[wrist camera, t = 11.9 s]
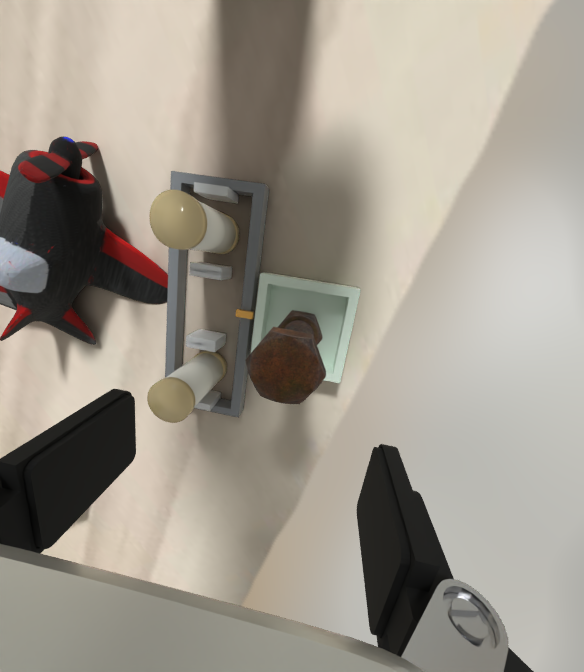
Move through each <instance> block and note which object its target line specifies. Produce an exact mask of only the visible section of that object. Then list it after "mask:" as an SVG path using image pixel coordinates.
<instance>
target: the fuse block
mask: <svg viewBox="0 0 584 672" xmlns="http://www.w3.org/2000/svg"><path fill="white" fill-rule="evenodd" d="M190 188H194V192H195V193H197V194H199V195H201V196H203V197H205V198H207V199H210V200H217V201H223V202H230V203H237V204H238V199H239V195H245V196H252V197H253V199H252V208H251V218H250V227H249V237H248V247H247V256H246V266H245V276H244V285H243V295H242V305H241V309H237V310H236V317H240V324H239V334H238V343H237V353H236V363H235V372H234V382H233V391H232V401H230V400H225V399H221V398H220V397H221V392H217V391H212V390H210V391H209V392H208V393H207V394H206V395H205V396H204V397H203V399H202V400H201V401H200V402H199V403H198V404H197V405H196V406H195V407H194V408H196V409H201V410H206V411H211V412H215V413H220V414H225V415H229V416H234V417H239V416H240V414H241V413H242V411H243V408H244V399H245V391H246V382H247V374H248V369H247V365H246V361H245V360H246V359H247V357H248V356H249V355H250V348H251V340H252V331H253V323H254V314H255V306H256V297H257V289H258V280H259V272H260V264H261V255H262V247H263V238H264V230H265V221H266V213H267V204H268V196H269V188H268V187H267V185H266V184H262V183H255V182H248V181H240V180H233V179H226V178H219V177H211V176H204V175H197V174H190V173H183V172H175V171H171V190H180V191H183V192H185V193H187V194H189V195H190ZM186 269H187V250H180V249H173V248H170V247H169V263H168V298H167V333H166V369H165V378H166V377H167V376H169V375H170V374H171V373H173V372H174V371H176V370H177V369H178V368H180V367H181V366H182V356H183V334H184V313H185V291H186ZM190 275H192V276H198V277H204V278H210V279H215V280H226V279H231V276H232V267H229V266H223V265H217V264H211V263H205V262H190ZM225 342H226V334H225V333H219V332H214V331H209V330H203V329H199V330H197V331H195V332H193V333H191V334H189V335H187V336H186V347H190V348H195V349H200V350H205V351H211V352H216V351H217V350H218V349H220V348H221V347H222V346H223V345H225Z"/></svg>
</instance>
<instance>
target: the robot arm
mask: <svg viewBox="0 0 584 672" xmlns="http://www.w3.org/2000/svg"><path fill="white" fill-rule="evenodd" d="M135 454H136V437H135V400H134V397H133V396H132V395H131V393H130V392H128V391H123V390H119V389H113V390H111V391H109V392H107V393H106V394H104V395H102V396H101V397H99V398H98V399H96V400H94V401H93V402H91V403H90V404H88V405H86V406H85V407H83V408H81V409H80V410H78V411H77V412H75V413H73V414H72V415H70V416H69V417H67V418H65V419H64V420H62V421H60V422H59V423H57V424H56V425H54V426H52V427H51V428H49V429H48V430H46V431H44V432H43V433H41V434H39V435H38V436H36V437H35V438H33V439H31V440H30V441H28V442H27V443H25V444H23V445H22V446H20V447H18V448H17V449H15V450H14V451H12V452H10V453H9V454H7V455H6V456H4V457H2V458H1V459H0V672H533V671H532V670H531V669H530V668H529V667H528V666H527V665H526V664H525V663H524V662H523V661H522V660H521V659H520V658H519V657H518V656H517V655H516V654H515V653H514V652H513V651H512V650H511V649H510V648H509V647H508V637H507V633H506V630H505V626H504V624H503V623H502V621H501V619H500V617H499V615H498V613H497V612H496V611H495V609H494V608H493V607H492V606H491V604H490V603H489V602H488V601H487V600H486V599H485V598H484V597H483V596H482V595H481V594H480V593H479V592H478V591H476V590H475V589H474V588H472V587H471V586H469V585H468V584H466V583H463V582H461V581H459V580H454V579H453V576H452V574H451V571H450V568H449V566H448V563H447V561H446V558H445V555H444V553H443V550H442V548H441V545H440V543H439V540H438V537H437V535H436V532H435V530H434V527H433V525H432V522H431V520H430V517H429V514H428V512H427V509H426V507H425V504H424V501H423V499H422V497H421V495H420V494H419V493H418V492H416V491H413V490H412V487H411V485H410V482H409V479H408V476H407V473H406V471H405V468H404V465H403V462H402V460H401V457H400V454H399V451H398V449H397V448H396V447H393V446H388V445H382V444H381V445H379V447H378V448H377V447H374V449H373V451H372V455H371V459H370V462H369V465H368V468H367V472H366V476H365V479H364V482H363V486H362V490H361V493H360V496H359V500H358V504H357V519H358V529H359V536H360V546H361V555H362V564H363V573H364V581H365V591H366V600H367V607H368V618H369V626H370V631H371V633H372V634H373V635H377V642H378V647H376V646H374V645H371V644H368V643H365V642H362V641H360V640H356V639H354V638H351V637H348V636H344V635H341V634H337V633H334V632H331V631H327V630H324V629H320V628H317V627H313V626H310V625H307V624H303V623H300V622H296V621H293V620H289V619H286V618H282V617H278V616H275V615H271V614H267V613H264V612H260V611H256V610H252V609H249V608H245V607H242V606H238V605H234V604H230V603H227V602H223V601H219V600H216V599H212V598H208V597H205V596H201V595H197V594H193V593H189V592H186V591H182V590H178V589H174V588H171V587H167V586H163V585H159V584H155V583H152V582H148V581H144V580H140V579H136V578H132V577H129V576H125V575H121V574H117V573H113V572H110V571H106V570H102V569H98V568H94V567H90V566H86V565H82V564H79V563H75V562H71V561H67V560H63V559H59V558H55V557H51V556H47V555H43V554H40V553H41V552H42V551H43V550H44V549H47V548H49V547H51V546H52V545H53V544H54V543H55V542H56V541H57V540H58V539H59V538H60V537H61V536H62V535H63V534H64V533H65V532H66V531H67V530H68V529H69V528H70V527H71V526H72V525H73V523H74V522H75V521H76V520H77V519H78V518H79V517H80V516H81V515H82V514H83V513H84V512H85V511H86V510H87V509H88V508H89V507H90V506H91V505H92V504H93V502H94V501H95V500H96V499H97V498H98V497H99V496H100V495H101V494H102V493H103V492H104V491H105V490H106V489H107V488H108V487H109V486H110V485H111V484H112V482H113V481H114V480H115V479H116V478H117V477H118V476H119V475H120V474H121V473H122V472H123V471H124V470H125V469H126V468H127V467H128V466H129V465H130V464H131V462H132V461H133V459H134V457H135Z"/></svg>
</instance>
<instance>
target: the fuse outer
mask: <svg viewBox="0 0 584 672" xmlns="http://www.w3.org/2000/svg"><path fill="white" fill-rule="evenodd" d="M226 371H227V365H226V362H225V360H224V358H223V357H222V356H221V355H220V354H219V353H217V352H211V351H202V352H200V353H199V354H197V355H196V356H195V357H194V358H193V359H191V360H190V361H188V362H187V363H186V364H184V365H183V366H181V367H180V368H178V369H177V370H176V371H174V372H173V373H171V374H170V375H169V376H167V377H166V378H163V379H161V380H160V381H158V382H157V383H155V384H154V385H153V386H152V387H151V388H150V390H149V392H148V397H147V399H148V404H149V407H150V409H151V410H152V412H153V413H154V414H155V415H156V416H157V417H158V418H160V419H161V420H163V421H166V422H171V423H176V422H180V421H182V420H184V419H185V418H186V417H187V416H188V415H189V414H190V413H191V412H192V410H193V409H194V407H195V406H196V405H197V404H198V403H199V402H200V401H201V400H202V399H203V397H204V396H205V395H206V394H207V393H208V392H209V391H210V390H211V389H212V388H213V387H214V386H215V385H216V384H217V383H218V382H219V381H220V380H221V379H222V378H223V377H224V376H225V374H226Z"/></svg>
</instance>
